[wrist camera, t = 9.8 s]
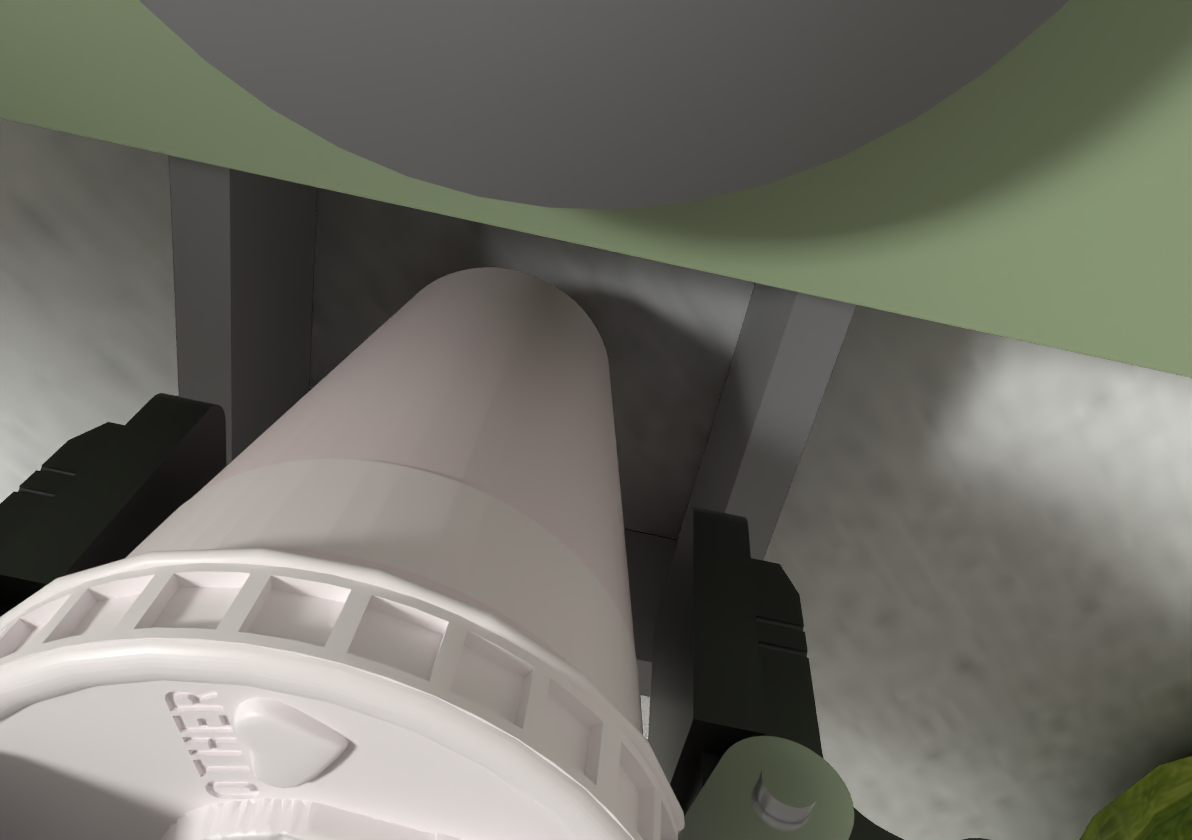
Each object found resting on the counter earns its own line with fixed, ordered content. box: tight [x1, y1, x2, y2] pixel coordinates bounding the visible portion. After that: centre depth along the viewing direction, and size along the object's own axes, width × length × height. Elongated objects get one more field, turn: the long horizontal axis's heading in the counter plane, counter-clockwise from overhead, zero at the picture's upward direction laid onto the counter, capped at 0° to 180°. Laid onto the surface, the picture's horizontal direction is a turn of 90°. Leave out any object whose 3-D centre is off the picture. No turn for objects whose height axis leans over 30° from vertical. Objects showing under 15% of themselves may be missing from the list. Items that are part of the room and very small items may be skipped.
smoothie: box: [0, 267, 685, 840], centre depth 10 cm, size 6×6×14 cm
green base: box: [0, 0, 1192, 697], centre depth 11 cm, size 18×20×7 cm
